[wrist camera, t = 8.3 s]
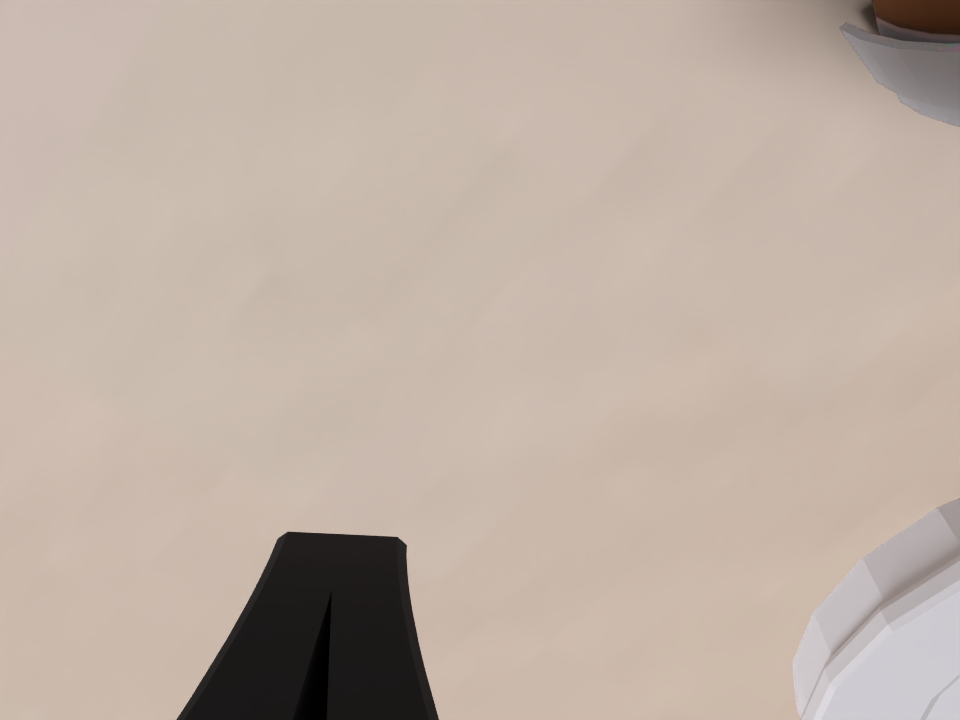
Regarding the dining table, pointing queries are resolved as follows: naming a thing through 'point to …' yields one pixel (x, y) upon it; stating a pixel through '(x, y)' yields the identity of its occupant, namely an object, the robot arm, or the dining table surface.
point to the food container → (915, 54)
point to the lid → (889, 632)
